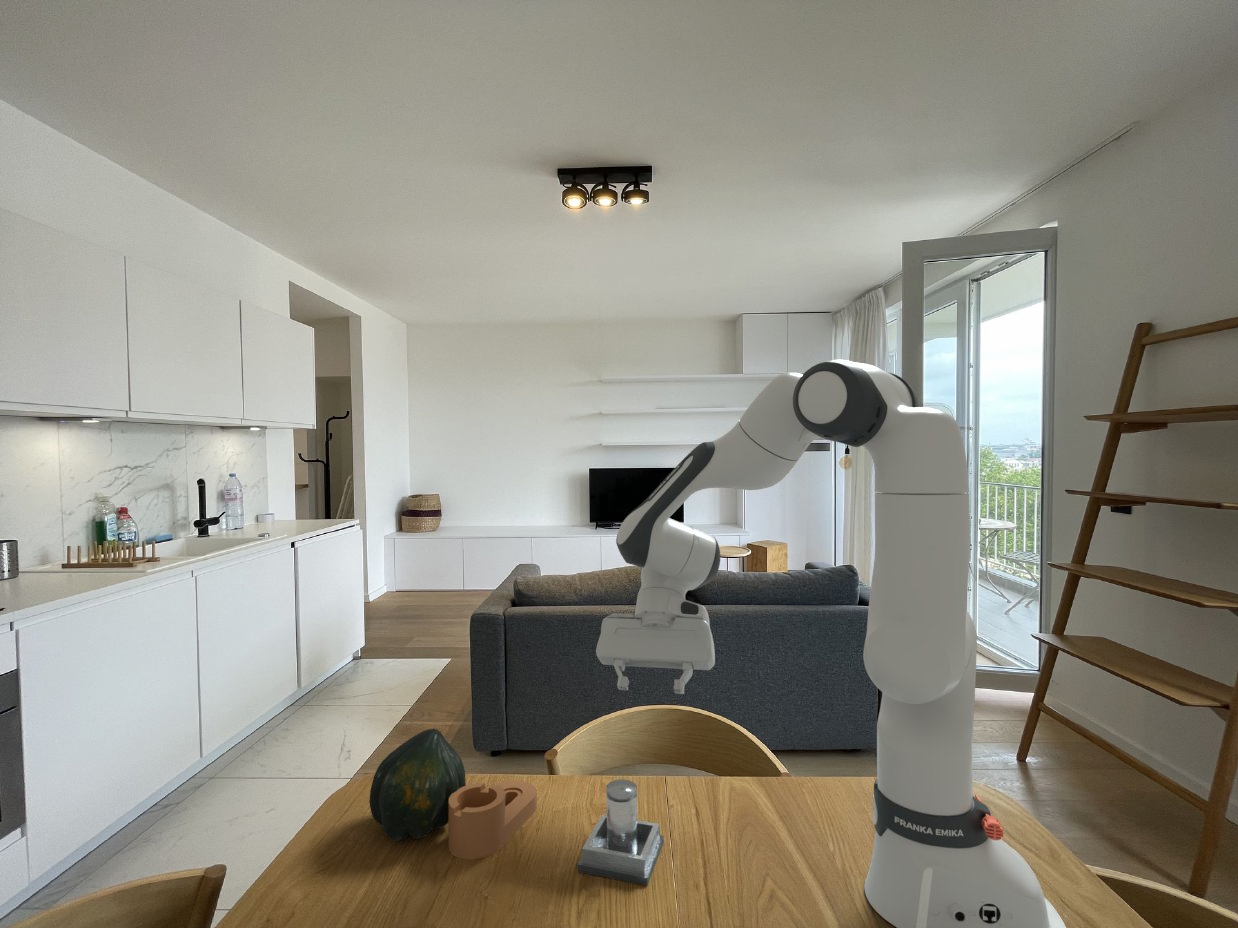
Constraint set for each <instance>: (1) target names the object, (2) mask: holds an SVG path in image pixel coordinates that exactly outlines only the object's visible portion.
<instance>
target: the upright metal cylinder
mask: <svg viewBox="0 0 1238 928" xmlns="http://www.w3.org/2000/svg"><path fill="white" fill-rule="evenodd" d="M605 791H606V793H605V794H606V815H607V850H613V851H618V852H624V853H629V854H634V855H635V854H636V853H637V850H638V843H637V820H638V786H637V784H636V783H635V782H634V781H631V780H629V779H615V780H612V781H609V782H608V783H607V785H606V789H605Z"/></svg>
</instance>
